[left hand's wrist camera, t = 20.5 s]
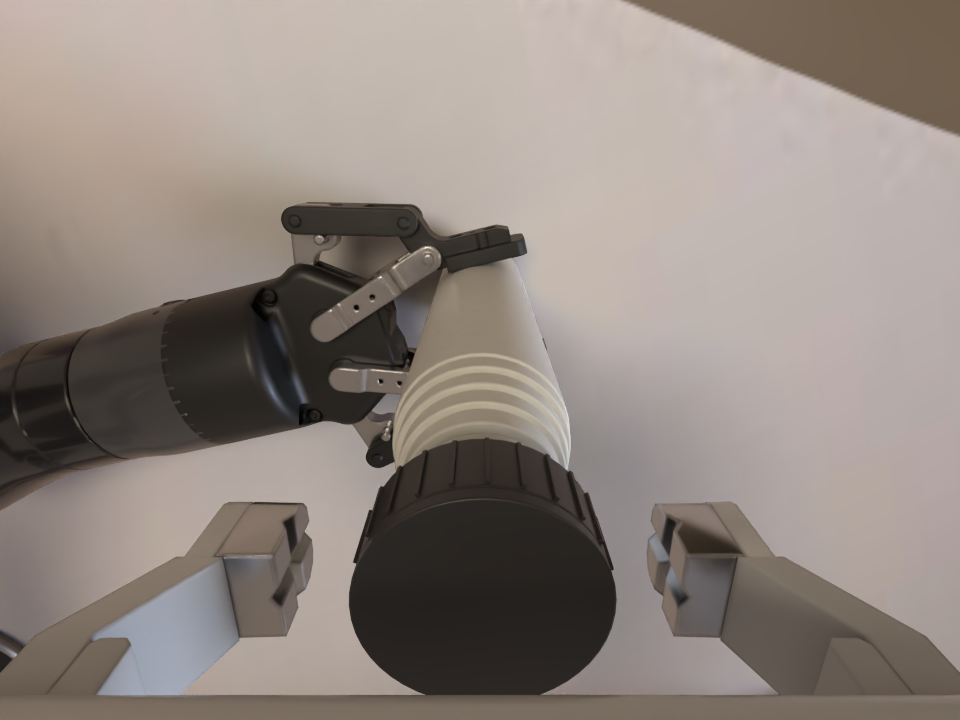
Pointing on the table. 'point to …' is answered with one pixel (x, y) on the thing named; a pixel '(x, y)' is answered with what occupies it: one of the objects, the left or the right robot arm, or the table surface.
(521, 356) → the bottle
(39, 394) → the right robot arm
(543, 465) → the cap
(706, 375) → the table surface
